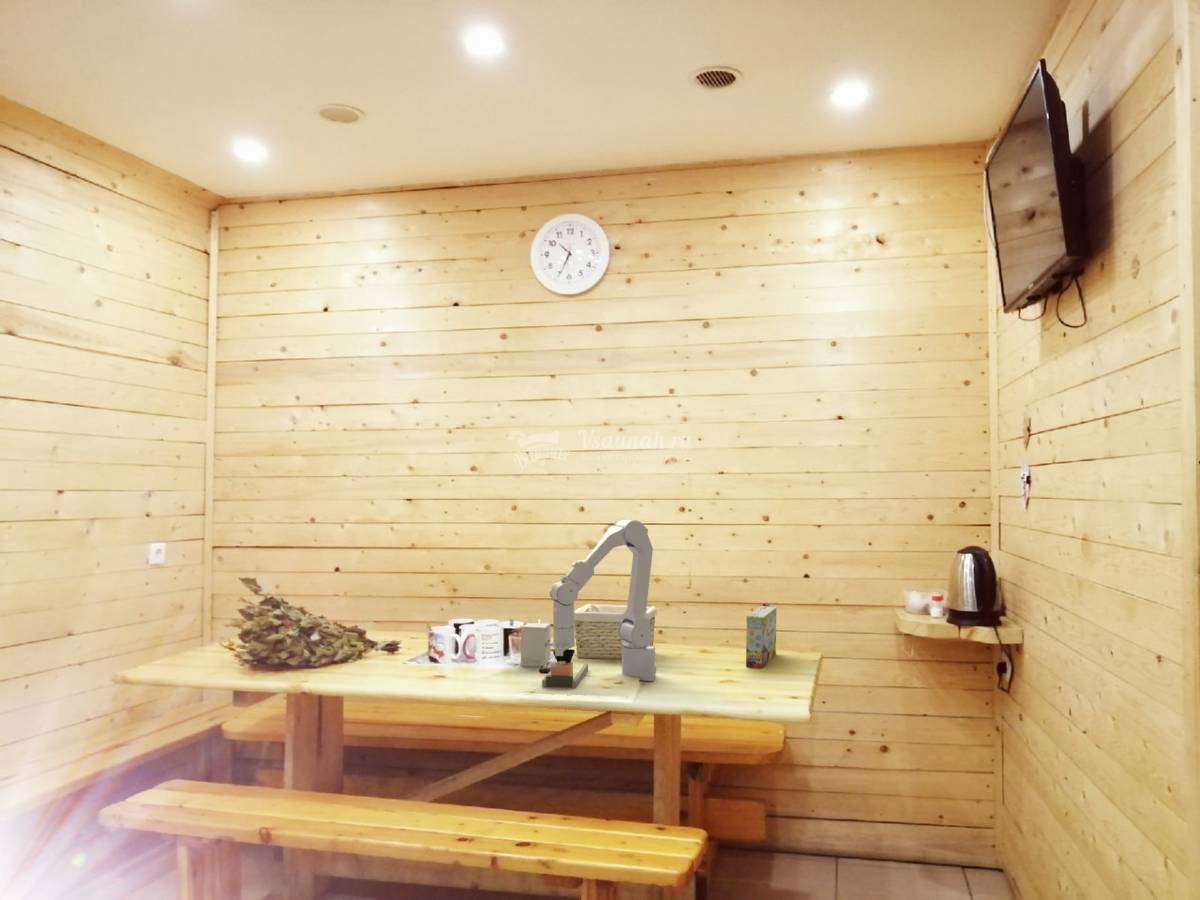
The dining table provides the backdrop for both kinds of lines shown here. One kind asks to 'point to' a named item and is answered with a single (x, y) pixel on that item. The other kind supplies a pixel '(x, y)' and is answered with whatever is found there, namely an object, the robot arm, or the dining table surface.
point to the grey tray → (564, 679)
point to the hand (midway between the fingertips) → (564, 677)
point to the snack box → (761, 637)
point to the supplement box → (535, 644)
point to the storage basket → (603, 630)
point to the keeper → (562, 668)
